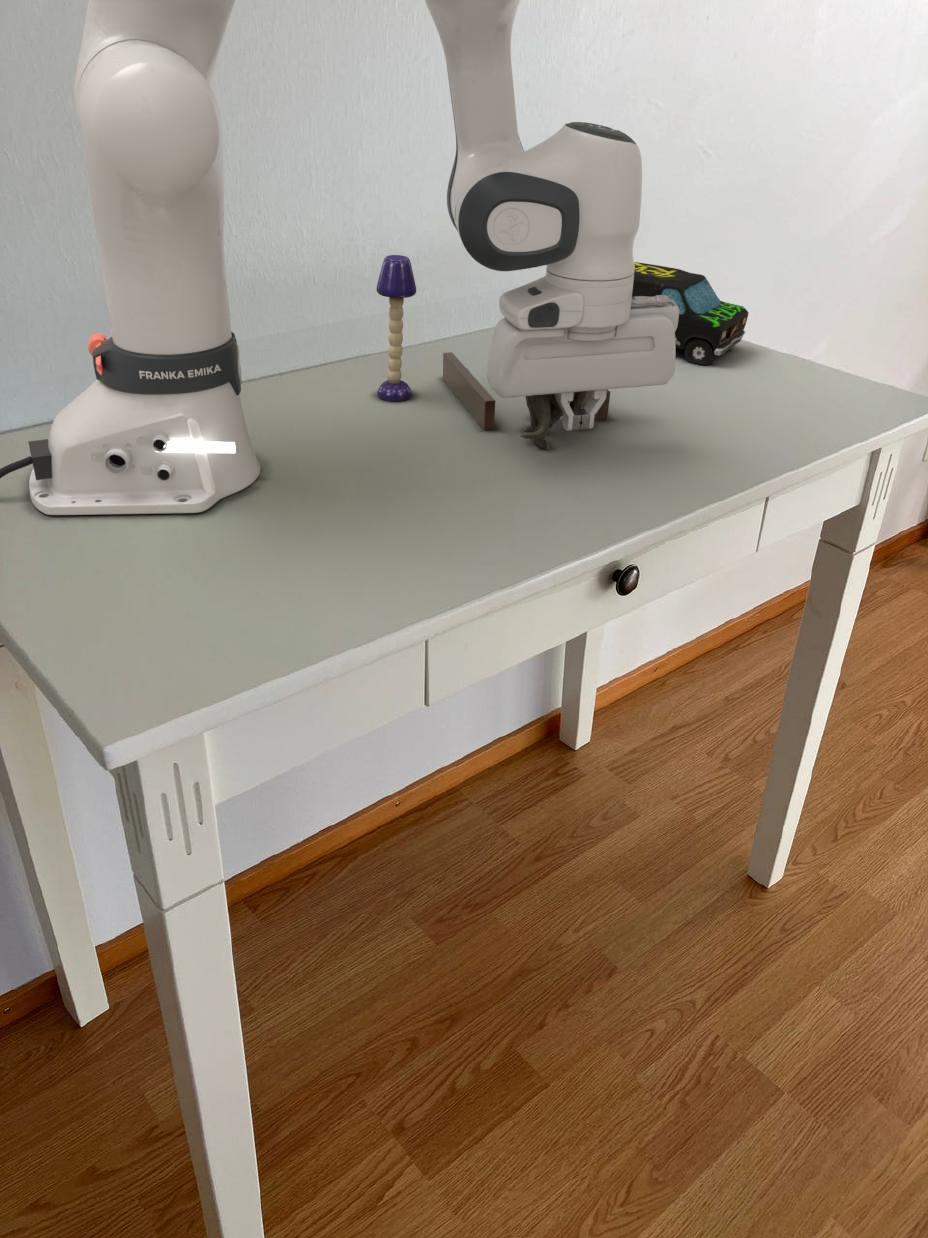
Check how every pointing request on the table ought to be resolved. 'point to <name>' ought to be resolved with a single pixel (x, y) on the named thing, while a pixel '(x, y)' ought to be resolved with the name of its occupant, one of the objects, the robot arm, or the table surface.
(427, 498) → the table surface
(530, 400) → the toy dinosaur
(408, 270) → the toy lamp
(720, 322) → the toy van
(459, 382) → the walnut rails
